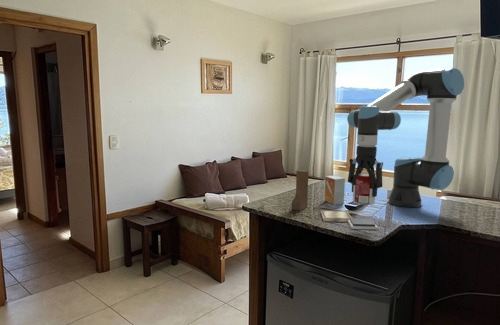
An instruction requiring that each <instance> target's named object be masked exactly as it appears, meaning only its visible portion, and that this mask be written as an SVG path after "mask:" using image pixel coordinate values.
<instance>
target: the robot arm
mask: <svg viewBox="0 0 500 325" xmlns="http://www.w3.org/2000/svg"><path fill="white" fill-rule="evenodd" d="M464 88H465V78H464V75H463V73H462V71H461V70H460V69H458V68H456V67H441V68H434V69H423V70H419V71H416V72H415V73H413V74H411V75H409V76H407V77H405V78H404V79H402V80H401V81H400V82H398V83H397V85H396V86H395V87H394V88H392V89H390V90H389V91H387V92H386V93H384V94H383V95H381V96H380V97H379V98H376V99H375V100H373V101H372V102H370V103H369V104H367V105H361V106H360V107H359V109H355V110H351V111H350V112H348V115H347V120H346V121H347V124H348V125H349V127H351V128H355V129H357V136H356V139H357V141H356V144H357V146H356V152H355V153H356V156H355V158H350V159H349V169H348V175H347V176H348V177H347V182H348V183H350V184H351V193H352V201H353V202H355V186H356V177H357V176H358V174H360V173H363V170H366V172H367V173H368V174H369V178H370V182H371V186H372V188H370V198H369V205H368V206H373V205H375V200H376V197H377V196H378V189H380V188H382V187H383V166H384V162H383V161H382V162H381V161H378V160H377V151H378V149H377V145H378V136H379V134H378V132H379V131H387V130H388V131H391V130H396V129H397V128H399V127H400V125H401V121H402V118H401V115H400V114H399V112H397V111H396V110H395V111H394V110H393V109H394V108H397V106H399V105H400V104H402V103H404V102H406V100H412V99H414V98H415V97H421V96H426V100H427V102H429V112H428V113H429V114H428V119H427V120H428V122H427V130H426V131H427V132H426V142H425V150H424V156H421V157H400V158H397V159H396V160H394V166H393V168H394V169H393V182H392V183H393V185H392V189H391V191H390V193H389V196H388V203H389V204H391V205H393V206H396V207H403V208H418V207H421V206H422V198H421V194H420V190H419V187H423V188H428V189H431V190H436V191H437V190H438V191H444V190H445V189H447V188H448V187H449V186H450V185H451V184H452V182H453V179H454V176H455V170H454V168H453V166H451V165H450V160H449V159H448V158H447V150H448V140H449V131H450V123H451V115H452V113H451V112H452V105H453V103H454V102H455V101H456V100H457V96H458V95H461V94H462V93H463V90H464Z"/></svg>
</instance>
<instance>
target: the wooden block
mask: <svg viewBox="0 0 500 325" xmlns="http://www.w3.org/2000/svg"><path fill="white" fill-rule="evenodd" d="M295 176H296V178H295V180H296V181H295V182H296V183H295V195H294V198H293V199H292V200H291V210H292V211H298V212H302V210H304V209H306V208H307V207H308V201H309V199H308V197H309V196H308V195H309V170H308V169H298V170H296V175H295Z"/></svg>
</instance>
